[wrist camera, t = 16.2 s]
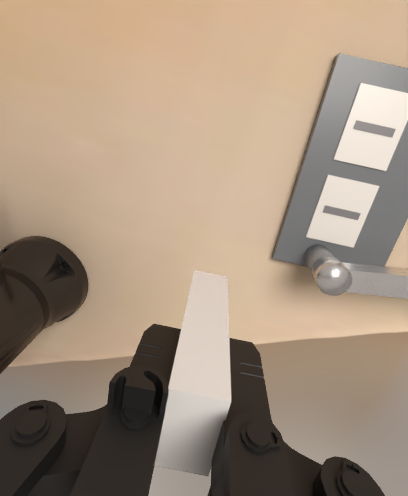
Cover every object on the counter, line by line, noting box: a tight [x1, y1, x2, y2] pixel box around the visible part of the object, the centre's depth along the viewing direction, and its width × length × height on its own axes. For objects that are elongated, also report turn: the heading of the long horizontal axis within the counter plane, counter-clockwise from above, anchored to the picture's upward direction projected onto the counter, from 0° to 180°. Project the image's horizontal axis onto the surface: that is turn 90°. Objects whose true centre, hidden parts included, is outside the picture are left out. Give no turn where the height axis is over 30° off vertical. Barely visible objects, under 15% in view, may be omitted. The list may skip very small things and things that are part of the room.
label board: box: [272, 53, 408, 272], centre depth 37 cm, size 16×27×6 cm, turn 168°
